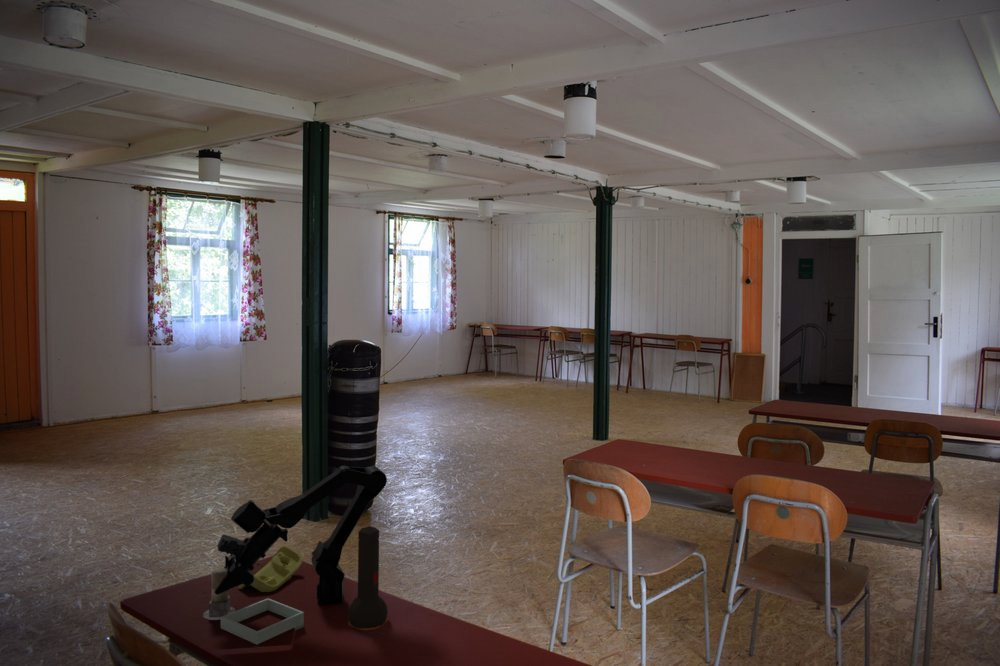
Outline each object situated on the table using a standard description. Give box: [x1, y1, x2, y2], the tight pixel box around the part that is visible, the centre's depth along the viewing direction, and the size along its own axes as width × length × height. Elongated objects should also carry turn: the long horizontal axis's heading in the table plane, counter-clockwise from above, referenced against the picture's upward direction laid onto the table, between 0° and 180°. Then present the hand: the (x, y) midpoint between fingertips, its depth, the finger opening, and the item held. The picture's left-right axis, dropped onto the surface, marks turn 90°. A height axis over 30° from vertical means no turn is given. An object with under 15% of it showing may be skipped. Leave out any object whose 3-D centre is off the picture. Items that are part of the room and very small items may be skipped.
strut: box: [208, 567, 231, 617], centre depth 188 cm, size 4×4×11 cm
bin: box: [220, 597, 305, 649], centre depth 182 cm, size 14×14×4 cm
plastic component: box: [237, 545, 303, 593], centre depth 212 cm, size 20×7×10 cm
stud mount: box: [202, 606, 237, 621], centre depth 188 cm, size 8×8×4 cm
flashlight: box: [347, 525, 388, 630], centre depth 187 cm, size 10×25×10 cm
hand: (215, 590), depth 188 cm, fingers closed on strut, 4 cm apart
